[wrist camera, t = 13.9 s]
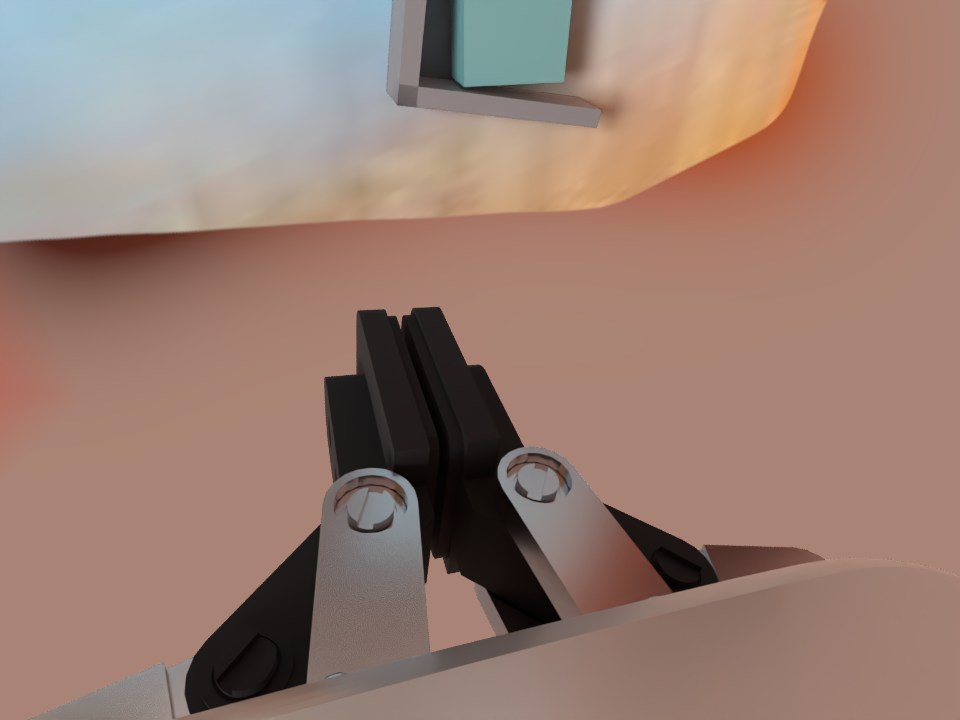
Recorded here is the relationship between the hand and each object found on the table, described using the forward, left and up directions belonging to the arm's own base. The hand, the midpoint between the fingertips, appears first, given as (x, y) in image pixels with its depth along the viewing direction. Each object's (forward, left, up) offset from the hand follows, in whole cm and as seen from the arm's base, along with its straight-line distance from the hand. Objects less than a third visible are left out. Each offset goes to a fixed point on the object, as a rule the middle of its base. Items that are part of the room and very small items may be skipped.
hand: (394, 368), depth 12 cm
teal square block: (-5, +13, -32) cm, 35 cm away
